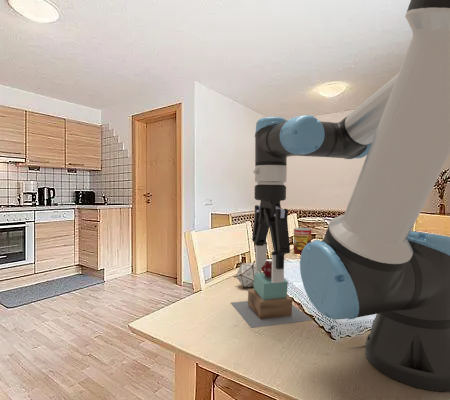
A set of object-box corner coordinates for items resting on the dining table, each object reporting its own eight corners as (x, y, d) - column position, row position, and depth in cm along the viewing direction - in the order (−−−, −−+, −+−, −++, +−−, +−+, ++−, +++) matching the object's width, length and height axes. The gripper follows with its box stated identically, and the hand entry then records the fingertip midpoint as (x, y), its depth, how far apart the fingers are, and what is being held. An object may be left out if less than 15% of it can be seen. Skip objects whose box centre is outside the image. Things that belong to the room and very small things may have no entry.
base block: (291, 315, 72) (292, 299, 72) (260, 319, 70) (260, 302, 69) (276, 301, 80) (277, 286, 79) (247, 304, 77) (248, 288, 77)
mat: (312, 321, 70) (312, 319, 70) (251, 329, 66) (251, 327, 65) (282, 298, 84) (282, 297, 84) (230, 304, 80) (230, 302, 80)
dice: (260, 272, 76) (262, 257, 75) (279, 274, 75) (280, 259, 74) (260, 279, 72) (261, 263, 71) (279, 281, 72) (280, 265, 71)
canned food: (291, 255, 141) (291, 229, 141) (296, 252, 148) (296, 227, 147) (308, 257, 137) (308, 230, 137) (312, 253, 144) (313, 228, 143)
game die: (253, 301, 92) (262, 281, 86) (227, 289, 94) (235, 268, 88) (261, 280, 99) (270, 259, 93) (237, 269, 101) (244, 248, 95)
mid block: (286, 297, 72) (287, 281, 72) (263, 300, 71) (264, 283, 70) (275, 286, 78) (276, 271, 77) (253, 288, 76) (254, 273, 76)
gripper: (240, 183, 83) (239, 265, 84) (275, 183, 62) (273, 292, 63) (266, 184, 85) (264, 264, 86) (308, 184, 64) (306, 289, 65)
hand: (268, 276), depth 75 cm, fingers open, 9 cm apart
